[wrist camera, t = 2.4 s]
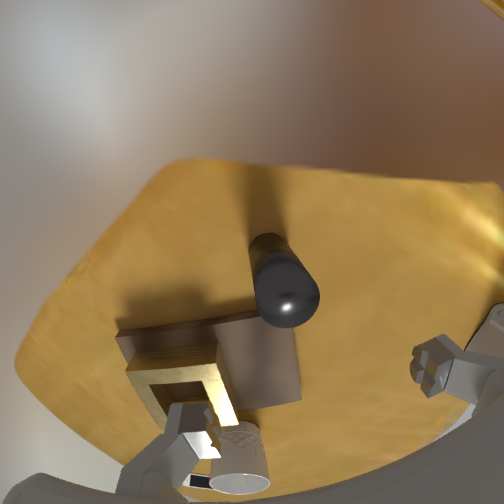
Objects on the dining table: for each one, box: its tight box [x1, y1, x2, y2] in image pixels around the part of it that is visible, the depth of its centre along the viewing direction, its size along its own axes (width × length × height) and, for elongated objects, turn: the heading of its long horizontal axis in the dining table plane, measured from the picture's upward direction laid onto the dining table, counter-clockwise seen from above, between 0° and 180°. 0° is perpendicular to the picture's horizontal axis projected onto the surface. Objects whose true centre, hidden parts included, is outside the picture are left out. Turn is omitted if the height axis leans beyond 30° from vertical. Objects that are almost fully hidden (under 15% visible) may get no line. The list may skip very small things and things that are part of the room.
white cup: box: [209, 421, 270, 495], centre depth 30 cm, size 8×8×10 cm
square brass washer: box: [125, 340, 239, 429], centre depth 27 cm, size 10×10×4 cm
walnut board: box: [115, 310, 302, 411], centre depth 30 cm, size 20×14×2 cm
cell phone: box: [183, 473, 215, 490], centre depth 40 cm, size 8×16×1 cm, turn 78°
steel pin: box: [249, 233, 320, 328], centre depth 22 cm, size 4×4×11 cm
